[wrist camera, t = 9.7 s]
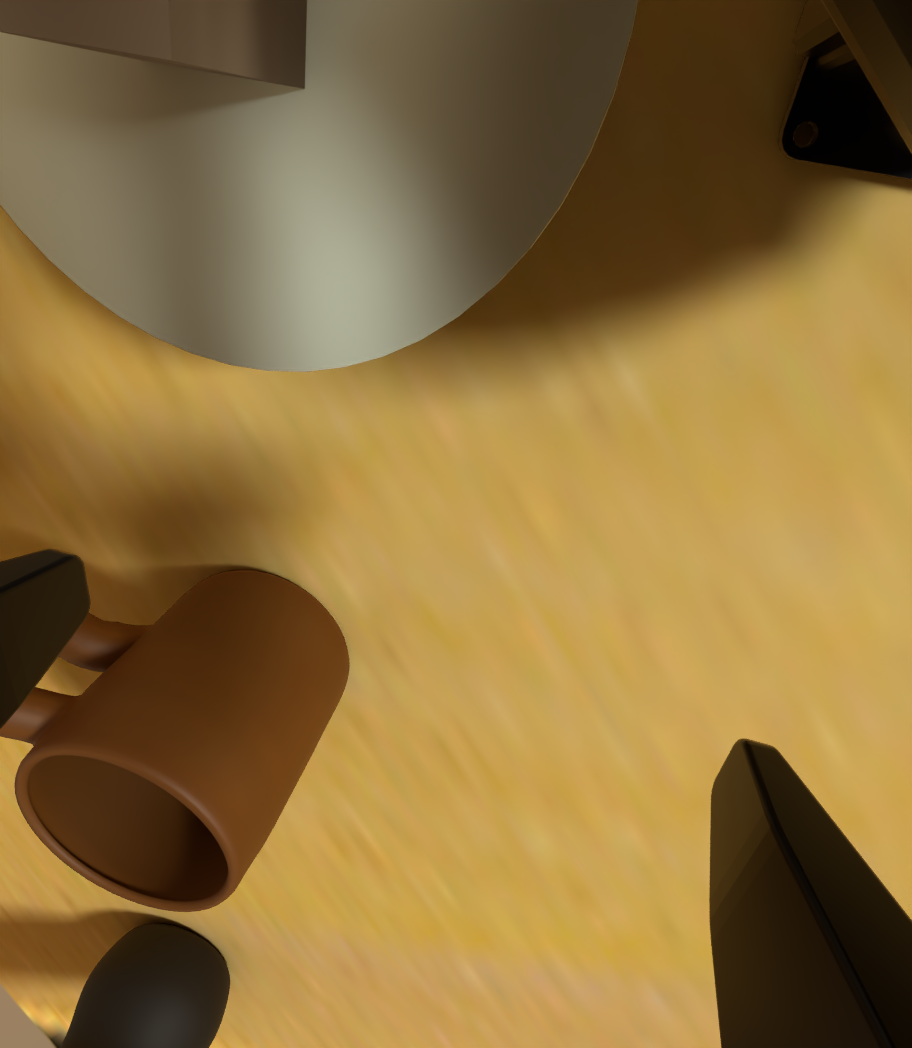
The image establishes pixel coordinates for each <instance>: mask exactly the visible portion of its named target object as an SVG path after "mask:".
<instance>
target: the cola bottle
mask: <svg viewBox="0 0 912 1048" xmlns="http://www.w3.org/2000/svg"><path fill="white" fill-rule="evenodd" d="M229 989H230V975H229V971H228V968H227V965H226V963H225V961H224V960H223V958H222V957H221V955H220V954H219V953H218V952H217V950H216V949H215V948H214V947H213V946H212V945H210V944H209V943H208V942H207V941H205V940H204V939H202V938H201V937H199V936H198V935H196V934H194V933H192V932H190V931H188V930H185V929H183V928H180V927H176V926H172V925H167V924H147V925H143V926H139V927H137V928H135V929H133V930H131V931H130V932H128V933H127V934H126V935H124V936H123V937H122V938H121V939H120V940H119V941H118V942H117V943H116V944H115V945H114V946H113V947H112V948H111V949H110V950H109V951H108V952H107V953H106V954H105V955H104V957H103V958H102V959H101V960H100V961H99V963H98V964H97V965H96V967H95V968H94V970H93V971H92V973H91V974H90V976H89V978H88V980H87V981H86V983H85V986H84V988H83V990H82V992H81V995H80V998H79V1000H78V1003H77V1006H76V1009H75V1013H74V1016H73V1019H72V1022H71V1024H70V1027H69V1030H68V1032H67V1035H66V1037H65V1039H64V1041H63V1043H62V1044H61V1046H60V1047H59V1048H209V1046H210V1045H211V1043H212V1041H213V1040H214V1038H215V1036H216V1033H217V1031H218V1029H219V1026H220V1024H221V1021H222V1018H223V1015H224V1012H225V1008H226V1004H227V1000H228V995H229Z"/></svg>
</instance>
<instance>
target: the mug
mask: <svg viewBox="0 0 912 1048" xmlns="http://www.w3.org/2000/svg"><path fill="white" fill-rule="evenodd" d="M58 656H59V657H61V658H62V659H64V660H66V661H68V662H69V663H71V664H74V665H76V666H79V667H81V668H85V669H89V670H92V671H98V672H104V673H103V674H102V675H101V676H100V677H99V678H98V679H97V680H95V681H94V682H93V683H92V684H91V685H90V686H89V687H88V688H87V690H86V691H85V692H84V693H83V694H82V695H79V696H70V695H65V694H60V693H56V692H52V691H48V690H44V689H41V688H37V687H35V688H34V689H33V690H32V692H31V693H30V694H29V696H28V697H27V698H26V699H25V701H24V702H23V703H22V705H21V706H20V707H19V708H18V710H17V711H16V712H15V713H14V714H13V715H12V717H11V718H10V719H9V720H8V721H7V722H6V724H5V725H4V726H3V727H2V728H1V729H0V736H1V737H5V738H10V739H15V740H21V741H24V742H28V743H31V744H33V746H34V747H33V748H32V749H31V750H30V752H29V753H28V754H27V755H26V757H25V758H24V759H23V760H22V762H21V763H20V766H19V768H18V771H17V774H16V778H15V794H16V798H17V802H18V805H19V807H20V810H21V812H22V814H23V816H24V818H25V819H26V821H27V823H28V824H29V826H30V827H31V829H32V830H33V831H34V833H35V834H36V835H37V836H38V838H39V839H40V840H41V841H42V842H43V843H44V844H45V845H46V846H47V847H48V848H49V849H50V850H51V852H52V853H54V854H55V855H56V856H57V857H58V858H59V859H60V860H62V861H63V862H64V863H65V864H67V865H68V866H69V867H70V868H72V869H73V870H74V871H76V872H77V873H79V874H80V875H82V876H83V877H85V878H86V879H88V880H89V881H91V882H93V883H94V884H96V885H98V886H100V887H102V888H104V889H105V890H107V891H109V892H111V893H113V894H116V895H118V896H120V897H123V898H125V899H127V900H130V901H133V902H136V903H138V904H142V905H145V906H149V907H153V908H157V909H162V910H169V911H178V912H192V911H200V910H205V909H209V908H211V907H214V906H217V905H218V904H220V903H221V902H223V901H224V900H226V899H227V898H228V897H229V896H230V895H231V894H232V893H233V892H234V891H235V889H236V888H237V886H238V885H239V883H240V881H241V880H242V878H243V876H244V874H245V873H246V871H247V870H248V868H249V867H250V865H251V863H252V862H253V860H254V859H255V857H256V856H257V854H258V853H259V851H260V850H261V848H262V847H263V845H264V843H265V842H266V840H267V838H268V836H269V835H270V833H271V831H272V829H273V828H274V826H275V824H276V822H277V820H278V818H279V816H280V814H281V812H282V811H283V809H284V807H285V805H286V803H287V801H288V799H289V797H290V795H291V794H292V792H293V790H294V788H295V786H296V784H297V782H298V780H299V778H300V776H301V775H302V773H303V771H304V769H305V767H306V765H307V763H308V761H309V759H310V757H311V756H312V754H313V752H314V750H315V748H316V746H317V744H318V742H319V740H320V738H321V736H322V734H323V732H324V730H325V728H326V726H327V724H328V722H329V720H330V718H331V716H332V714H333V712H334V711H335V709H336V707H337V705H338V703H339V701H340V699H341V697H342V694H343V692H344V689H345V686H346V683H347V679H348V674H349V655H348V650H347V645H346V642H345V639H344V636H343V634H342V632H341V630H340V628H339V626H338V625H337V623H336V621H335V620H334V618H333V617H332V616H331V615H330V613H329V612H328V611H327V610H326V608H325V607H324V606H323V605H322V604H321V603H320V602H319V601H318V600H316V599H315V598H314V597H313V596H312V595H310V594H309V593H308V592H306V591H305V590H303V589H302V588H300V587H299V586H297V585H295V584H293V583H291V582H289V581H287V580H285V579H283V578H280V577H278V576H275V575H272V574H268V573H264V572H259V571H251V570H236V571H227V572H222V573H218V574H216V575H213V576H210V577H209V578H207V579H205V580H203V581H201V582H200V583H198V584H197V585H195V586H194V587H193V588H192V589H190V590H189V591H188V592H187V593H186V594H184V595H183V596H182V597H181V598H180V599H179V600H178V601H177V602H176V603H175V604H174V605H173V606H172V607H171V608H170V609H169V610H168V611H167V612H166V613H165V614H164V615H163V616H162V617H161V618H160V619H159V620H158V621H157V622H156V623H155V624H153V625H149V626H140V625H128V624H123V623H119V622H109V621H103V620H101V619H99V618H97V617H95V616H93V615H92V614H90V613H88V615H87V617H86V619H85V620H84V622H83V623H82V624H81V626H80V627H79V628H78V630H77V631H76V632H75V634H74V635H73V637H72V638H71V639H70V641H69V642H68V643H67V645H66V646H65V647H64V649H63V650H62V651H61V653H60V654H59V655H58Z"/></svg>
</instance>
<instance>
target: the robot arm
mask: <svg viewBox="0 0 912 1048" xmlns="http://www.w3.org/2000/svg"><path fill="white" fill-rule="evenodd" d="M793 44H794V46H795V49H796V51H797V53H798V55H799V56H805V57H806V58H805V61H804V63H803V66H802V69H801V72H800V75H799V78H798V81H797V84H796V86H795V89H794V92H793V95H792V98H791V101H790V104H789V106H788V109H787V112H786V115H785V118H784V121H783V124H782V127H781V129H780V133H779V139H778V142H779V147H780V150H781V151H782V153H783V154H784V155H785V156H786V157H789V158H791V159H794V160H800V161H806V162H812V163H818V164H824V165H829V166H835V167H841V168H847V169H853V170H858V171H864V172H870V173H876V174H882V175H888V176H893V177H899V178H905V179H911V180H912V0H806V3H805V6H804V9H803V12H802V15H801V18H800V21H799V24H798V27H797V30H796V33H795V36H794V39H793ZM803 122H807V123H809V124H811V125H812V127H813V129H814V135H813V138H812V140H811V141H810V143H809V144H807V145H806V146H804V147H799V146H797V145H796V144H795V142H794V140H793V137H794V132H795V130H796V129H797V127H798V126H799V125H800V124H802V123H803ZM89 609H90V596H89V590H88V585H87V579H86V573H85V567H84V563H83V561H82V560H81V559H80V557H78V556H77V555H74V554H71V553H67V552H63V551H60V550H55V549H47V550H42V551H39V552H35V553H31V554H27V555H24V556H20V557H16V558H13V559H9V560H5V561H2V562H0V729H1V728H2V727H3V726H4V725H5V724H6V722H7V721H8V720H9V719H10V718H11V717H12V715H13V714H14V713H15V712H16V711H17V710H18V708H19V707H20V706H21V705H22V703H23V702H24V701H25V699H26V698H27V697H28V696H29V694H30V693H31V692H32V690H33V689H34V688H35V686H36V685H37V684H38V682H39V681H40V680H41V678H42V677H43V676H44V674H45V673H46V672H47V670H48V669H49V668H50V666H51V665H52V664H53V662H54V661H55V659H56V658H57V657H58V655H59V654H60V653H61V651H62V650H63V649H64V647H65V646H66V645H67V643H68V642H69V641H70V639H71V638H72V637H73V635H74V634H75V632H76V631H77V630H78V628H79V627H80V626H81V624H82V623H83V622H84V620H85V619H86V617H87V615H88V612H89ZM709 901H710V932H711V946H712V956H713V966H714V976H715V987H716V997H717V1007H718V1018H719V1028H720V1038H721V1048H912V920H911V919H910V918H909V916H908V915H907V914H906V912H905V911H904V910H903V909H902V907H901V906H900V905H899V904H898V902H897V901H896V900H895V898H894V897H893V896H892V895H891V893H890V892H889V891H888V890H887V888H886V887H885V886H884V884H883V883H882V882H881V881H880V879H879V878H878V877H877V876H876V874H875V873H874V872H873V870H872V869H871V868H870V867H869V865H868V864H867V863H866V862H865V860H864V859H863V858H862V856H861V855H860V854H859V853H858V851H857V850H856V849H855V848H854V846H853V845H852V844H851V842H850V841H849V840H848V839H847V837H846V836H845V835H844V834H843V832H842V831H841V830H840V828H839V827H838V826H837V825H836V823H835V822H834V821H833V820H832V818H831V817H830V816H829V814H828V813H827V812H826V811H825V809H824V808H823V807H822V806H821V804H820V803H819V802H818V801H817V799H816V798H815V797H814V795H813V794H812V793H811V792H810V790H809V789H808V788H807V787H806V785H805V784H804V783H803V781H802V780H801V779H800V778H799V776H798V775H797V774H796V773H795V771H794V770H793V769H792V767H791V766H790V765H789V764H788V762H787V761H786V760H785V759H784V757H783V756H782V755H781V753H780V752H779V751H778V750H777V749H776V748H774V747H773V746H770V745H767V744H764V743H760V742H757V741H753V740H749V739H739V740H738V741H737V742H736V743H735V744H734V746H733V747H732V749H731V751H730V753H729V755H728V757H727V758H726V760H725V762H724V764H723V766H722V768H721V770H720V771H719V773H718V775H717V777H716V779H715V781H714V784H713V788H712V794H711V832H710V899H709Z"/></svg>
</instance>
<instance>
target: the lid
mask: <svg viewBox="0 0 912 1048" xmlns="http://www.w3.org/2000/svg"><path fill="white" fill-rule="evenodd" d="M637 4H638V0H0V205H1V206H2V208H3V209H4V210H5V211H6V213H7V214H8V215H9V216H10V218H11V219H12V220H13V222H14V223H15V224H16V225H17V226H18V227H19V228H20V229H21V231H22V232H23V233H24V234H25V235H26V236H27V237H28V238H29V239H30V240H31V241H32V242H33V243H34V244H35V246H36V247H37V248H38V249H39V250H40V251H41V252H42V253H43V254H44V255H45V256H46V257H47V258H48V260H50V261H51V262H52V263H53V264H54V265H55V266H56V267H57V268H59V269H60V270H61V271H62V272H63V273H64V274H65V275H66V276H68V277H69V278H70V279H71V280H72V281H73V282H74V283H75V284H76V285H78V286H79V287H80V288H81V289H82V290H83V291H85V292H86V293H87V294H89V295H90V296H92V297H93V298H94V299H96V300H97V301H98V302H100V303H101V304H102V305H104V306H105V307H107V308H108V309H109V310H111V311H112V312H113V313H115V314H116V315H118V316H119V317H121V318H123V319H124V320H126V321H128V322H129V323H131V324H133V325H135V326H136V327H138V328H140V329H142V330H143V331H145V332H147V333H148V334H150V335H152V336H154V337H155V338H158V339H160V340H162V341H165V342H167V343H169V344H172V345H174V346H176V347H178V348H181V349H183V350H185V351H188V352H190V353H192V354H196V355H199V356H202V357H206V358H209V359H212V360H216V361H219V362H222V363H226V364H229V365H235V366H241V367H247V368H253V369H260V370H266V371H297V372H308V371H317V370H325V369H333V368H341V367H347V366H351V365H354V364H358V363H362V362H365V361H369V360H373V359H376V358H380V357H384V356H386V355H388V354H390V353H393V352H395V351H397V350H400V349H402V348H404V347H406V346H409V345H411V344H413V343H416V342H418V341H420V340H422V339H424V338H425V337H427V336H429V335H430V334H432V333H433V332H435V331H437V330H438V329H440V328H441V327H443V326H445V325H446V324H448V323H449V322H451V321H453V320H454V319H456V318H458V317H459V316H460V315H461V314H462V313H464V312H465V311H466V310H467V309H468V308H470V307H471V306H472V305H473V304H474V303H476V302H477V301H478V300H479V299H480V298H482V297H483V296H484V295H485V294H486V293H488V292H489V291H490V290H491V289H492V288H494V287H495V286H496V285H497V284H498V283H499V282H500V281H501V280H502V279H503V278H504V277H505V275H506V274H507V273H508V272H509V271H510V270H511V269H512V268H513V267H514V266H515V265H516V264H517V262H518V261H519V260H520V259H521V258H522V257H523V256H524V255H525V254H526V253H527V252H528V251H529V249H530V248H531V247H532V246H533V245H534V244H535V242H536V241H537V239H538V238H539V237H540V235H541V234H542V232H543V231H544V230H545V228H546V227H547V225H548V224H549V223H550V221H551V220H552V218H553V217H554V216H555V214H556V213H557V211H558V210H559V209H560V207H561V206H562V204H563V203H564V201H565V199H566V197H567V196H568V194H569V192H570V190H571V188H572V186H573V185H574V183H575V181H576V179H577V177H578V176H579V174H580V172H581V170H582V168H583V166H584V165H585V163H586V161H587V159H588V157H589V155H590V154H591V151H592V149H593V146H594V144H595V142H596V139H597V137H598V134H599V132H600V129H601V127H602V124H603V122H604V120H605V117H606V115H607V112H608V110H609V107H610V105H611V102H612V100H613V98H614V95H615V91H616V88H617V84H618V81H619V77H620V74H621V70H622V67H623V63H624V60H625V56H626V53H627V50H628V46H629V43H630V39H631V36H632V32H633V27H634V21H635V16H636V10H637Z"/></svg>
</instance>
